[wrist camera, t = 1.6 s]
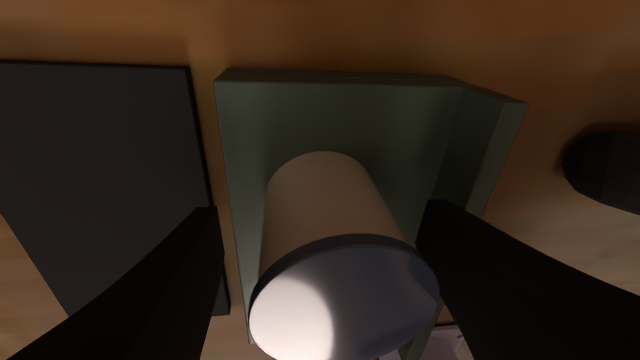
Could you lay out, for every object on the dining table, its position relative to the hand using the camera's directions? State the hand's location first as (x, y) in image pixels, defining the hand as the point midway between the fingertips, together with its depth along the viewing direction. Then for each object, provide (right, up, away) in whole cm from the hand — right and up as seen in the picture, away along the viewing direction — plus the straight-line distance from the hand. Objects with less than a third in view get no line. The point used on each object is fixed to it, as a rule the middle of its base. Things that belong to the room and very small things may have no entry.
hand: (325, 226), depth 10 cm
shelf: (0, 0, +5) cm, 5 cm away
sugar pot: (0, +1, +1) cm, 2 cm away
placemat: (-10, 0, +4) cm, 10 cm away
